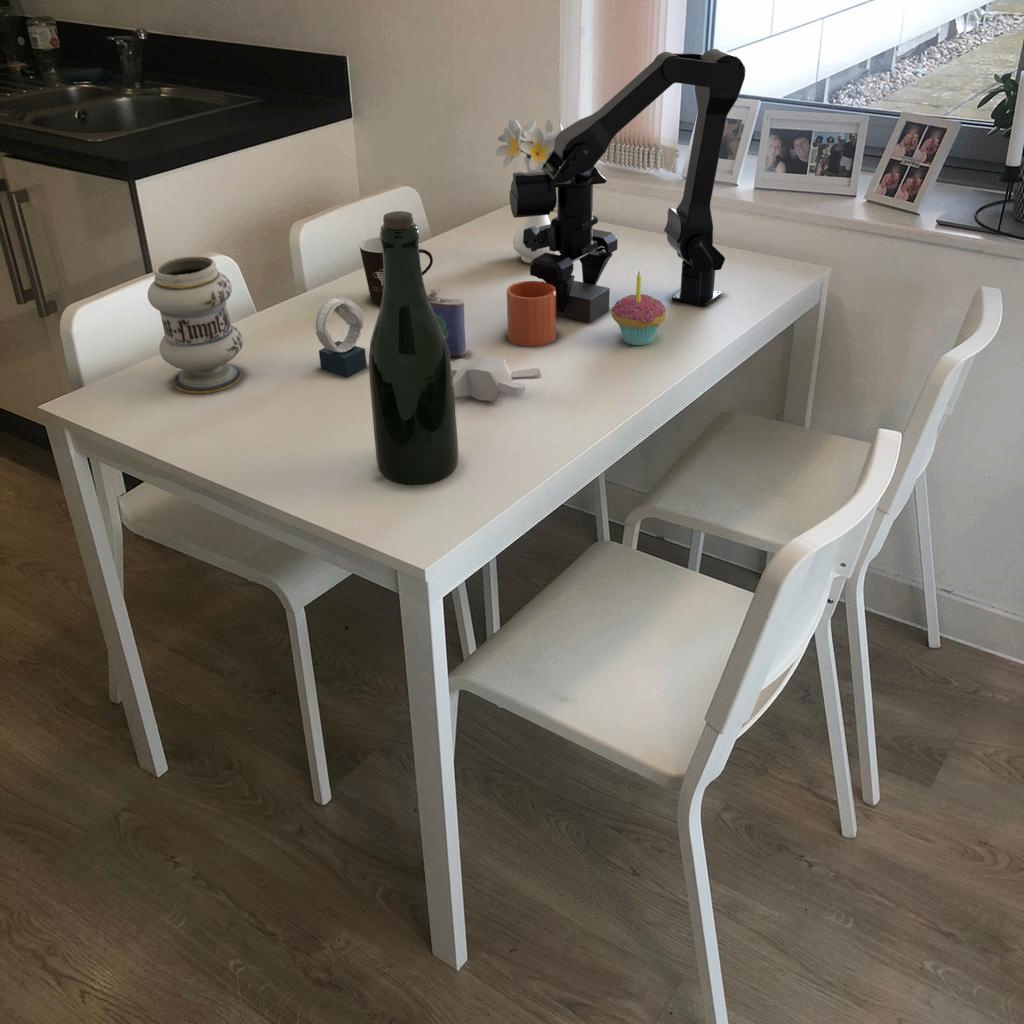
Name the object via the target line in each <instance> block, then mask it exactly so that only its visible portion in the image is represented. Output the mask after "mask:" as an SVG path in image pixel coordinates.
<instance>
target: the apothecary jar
mask: <svg viewBox="0 0 1024 1024" xmlns="http://www.w3.org/2000/svg"><path fill="white" fill-rule="evenodd" d="M232 291H233V287H232V283H231V281H230V279H229V278H228V277H227V276H226V275H225V274H223V273H222V272H220V271H219V270H218V268H217V265H216V262H215V260H214V259H213V258H211V257H208V256H203V255H199V256H198V255H187V256H179V257H174V258H170V259H167V260H164V261H163V262H161V263H159V264H158V265H157V266H155V268H154V280H153V282H152V283H151V284H150V285H149V287H148V290H147V300H148V302H149V304H150V305H151V306H152V307H153V308H154V309H156V310H157V311H158V312H159V314H160V317H161V321H162V322H161V323H162V327H163V333H164V336H163V337H162V339H161V340H160V342H159V345H158V350H159V354H160V356H161V358H162V359H163V360H164V361H165V363H167V364H168V365H170V366H172V367H173V368H176V369H179V370H181V371H180V372H179V373H177V374H176V376H175V377H174V382H175V384H174V385H175V388H176V389H177V390H179V391H181V392H185V393H189V394H196V395H197V394H198V395H199V394H200V395H201V394H210V393H211V394H212V393H216V392H219V391H223V390H226V389H228V388H230V387H232V386H234V385H236V384H237V382H239V380H241V377H242V373H241V371H240V368H238V367H236V366H235V365H232V364H230V363H229V362H231V360H233V359H234V358H236V356H238V354H239V353H240V352H241V350H242V348H243V345H244V343H243V342H244V341H243V340H244V339H243V336H242V334H241V332H240V331H239V330H238V328H236V327H235V326H234V325H233V324H232V323H231V319H230V314H229V311H228V306H227V301H228V300H229V298H230V297H231V295H232Z"/></svg>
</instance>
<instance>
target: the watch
mask: <svg viewBox="0 0 1024 1024" xmlns="http://www.w3.org/2000/svg"><path fill="white" fill-rule="evenodd" d="M333 312H335V313H336V314H337V315H338V316H339V317H340V318H341V320H343V321H344V322H345V324H346V325H347V326H348V331H347V334H346V336H345V337H344V339H343V341H341V340H337V341H334V340H333V338H332V336H331V333H329V331H328V326H327V325H328V321H329V318H330V317H331V314H332V313H333ZM365 315H366V314H365V313H364V311H363V310H362V309H361V307H360V306H359V305H357V303H354V302H353V301H352V300H350V299H349V298H346V297H342V296H341V297H340V296H339V297H338V298H336V297H331V298H329V299H327V300H326V301H325V302H323V304H321V306H320V308H319V310H318V312H317V314H316V317H315V334H316V337H317V339H318V341H319V343H320V344H321V345H322V346H323V347H322V348H321V349H319V350H318V354H319V355H318V356H319V362H320V363H319V365H320V369H321V370H322V371H325V372H328V373H331V374H335V375H337V376H341V377H344V378H350V377H352V376H353V375H355V374H357V373H359V372H361V371H363V370H365V369H367V368H368V366H367V356H366V355H367V354H366V348H364V347H360V346H358V345H357V343H358V342H359V340H360V337H361V335H362V330H363V328H364V320H365V318H366V316H365Z"/></svg>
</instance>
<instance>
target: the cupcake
mask: <svg viewBox="0 0 1024 1024" xmlns="http://www.w3.org/2000/svg"><path fill="white" fill-rule="evenodd" d="M641 290H642V275H641V273H640V271H637V275H636V289H635V291H636V292H635V294H629V295H627V296H625V297H623V298H621V299H620V300H617V301H616V302H615V303H614V306H611V308H612V309H611V318H612V319H613V320H614V321H615V322H616V324H617V325H618V326H619V329H620V332H621V335H622V340H623V341H624V343H627V344H629V345H633V346H645V345H649V344H652V342H654V339H655V336H656V333H657V332H658V330H659V327H660V325H661V324H662V323H664V322H665V320H666V312H667V310H666V307H665V305H664V304H663V303H662V302H661V301H660V300H659V299H657V298H655V297H653V296H651V295H648V294H641Z"/></svg>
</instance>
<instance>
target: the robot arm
mask: <svg viewBox="0 0 1024 1024" xmlns="http://www.w3.org/2000/svg"><path fill="white" fill-rule="evenodd" d="M745 79H746V66H745V65H744V63H743V62H742V60H741V59H740V58H739V57H738V56H736V55H734V54H731V53H729V52H727V51H724V50H722V49H719V48H710V49H708V50H707V51H705V52H704V53H694V52H693V53H692V52H687V53H686V52H685V53H682V52H681V53H675V52H670V51H664V52H663V51H662V52H660V53H659V54H657V55H656V56H655V58H654V59H653V61H652V62H651V63H650V64H648V66H646V67H645V68H644V69H643V70H642V71H641V72H639V74H637V76H635V77H634V78H633V79H632V80H631V81H629V83H627V84H626V85H625V86H624V87H623V88H621V89H620V90H619V91H618V92H617V93H616V94H615V95H613V97H612V98H611V99H609V100H608V101H607V102H606V103H605V104H604V105H603V106H602V107H600V108H599V109H598V110H597V111H595V112H594V113H592V114H590V115H588V116H586V117H583V118H581V119H578V120H577V121H575V122H573V123H572V124H570V125H569V126H567V127H566V128H564V129H563V131H561V132H560V133H559V134H558V136H557V137H556V139H555V144H554V150H553V151H552V153H551V154H550V156H549V157H548V159H547V160H546V162H545V163H544V165H543V166H542V168H541V170H542V171H543V172H532V173H528V172H522V171H517V172H513V173H512V181H511V184H510V190H509V204H510V211H511V214H512V216H513V218H514V219H515V218H517V219H518V218H526V217H529V216H540V215H548V216H549V215H551V213H552V212H554V211H555V208H556V207H557V216H556V217H554V218H551V220H550V222H551V224H548V225H544V226H540V227H537V226H533V227H529V228H527V229H524V234H523V244H524V245H525V247H526V248H528V249H529V248H530V249H531V252H533V251H536V250H537V249H541V248H546V247H549V250H550V251H558V253H559V254H557V253H555V254H551V253H544V254H542V255H540V256H538V257H536V258H534V259H533V260H532V261H531V262H530V264H529V275H530V276H531V277H534V278H535V277H536V278H537V279H540V280H543V282H545V283H549V284H551V285H553V286H554V287H555V289H556V308H557V311H558V312H564V310H565V308H566V305H567V301H568V298H569V294H570V291H571V287H572V284H573V281H575V277H576V276H575V275H573V272H574V263H575V262H577V261H579V262H580V263H581V272H582V275H581V276H582V282H584V283H588V284H593V285H597V284H598V281H599V280H600V277H601V276H602V273H603V272H604V270H605V268H606V267H607V264H608V263H609V261H610V259H611V258H612V257H613V252H616V251H617V250H618V243H619V242H618V240H619V239H618V237H617V236H616V235H615V233H614V232H611V231H607V230H600V229H595V228H593V226H595V225H596V224H598V222H599V217H598V216H596V215H595V216H594V185H602V184H603V185H604V184H606V183H607V178H606V177H604V176H603V175H602V174H601V173H600V172H599V170H598V168H597V167H596V164H597V163H598V161H599V160H600V159H602V157H603V156H604V155H605V154H606V152H607V150H608V149H609V146H610V144H611V143H612V140H613V139H614V138H615V137H616V136H617V134H618V133H620V132H621V130H623V129H624V128H625V127H626V126H627V125H628V124H629V123H631V122H632V121H633V120H635V118H636V117H637V116H639V115H640V114H641V113H642V112H643V111H644V110H646V108H648V107H649V106H650V105H651V104H652V103H653V102H654V101H656V100H657V99H658V98H659V97H660V96H661V95H662V94H663V93H665V92H666V91H667V90H668V89H669V88H670V87H671V86H672V85H674V84H684V85H690V86H694V94H695V98H696V99H695V100H696V106H697V115H696V120H695V126H694V132H693V138H692V143H691V148H690V154H689V159H688V166H687V172H686V178H685V183H684V189H683V195H682V198H681V201H680V203H679V204H678V206H677V207H676V208H672V207H669V208H668V209H667V220H666V221H667V222H666V224H665V227H664V229H663V232H664V233H665V234H666V239H667V242H668V244H669V245H670V246H671V248H672V249H673V250H675V251H676V254H677V257H678V258H680V259H681V260H682V262H681V274H680V290H678V292H676V293H675V294H673V295H672V296H671V299H672V300H674V301H679V302H683V303H688V304H692V305H697V306H701V307H706V306H708V305H709V304H711V303H712V302H714V301H715V300H716V299H717V298H719V297H721V296H722V292H721V291H718V290H715V282H716V271H720V270H722V268H723V266H724V263H725V261H726V257H725V256H724V255H723V254H722V252H720V251H719V249H718V248H716V247H715V246H714V245H713V244H714V222H713V216H712V210H711V203H712V196H713V191H714V186H715V181H716V176H717V170H718V165H719V159H720V155H721V149H722V144H723V139H724V133H725V128H726V123H727V118H728V115H729V113H730V112H731V110H732V108H733V107H734V105H735V104H736V102H737V101H738V99H739V96H740V93H741V90H742V87H743V85H744V82H745Z"/></svg>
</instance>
